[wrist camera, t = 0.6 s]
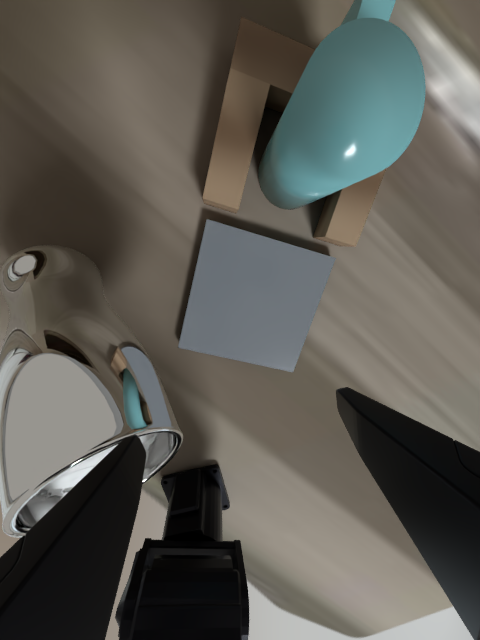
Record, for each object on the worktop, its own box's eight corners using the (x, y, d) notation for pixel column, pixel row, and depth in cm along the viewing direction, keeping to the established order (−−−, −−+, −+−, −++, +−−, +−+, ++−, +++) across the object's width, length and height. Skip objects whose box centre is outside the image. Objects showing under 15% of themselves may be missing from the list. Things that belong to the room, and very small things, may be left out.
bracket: (340, 246, 21) (355, 246, 19) (204, 203, 19) (202, 198, 17) (390, 113, 18) (415, 93, 16) (238, 49, 17) (241, 16, 14)
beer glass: (-46, 261, 14) (-83, 553, 6) (79, 223, 17) (167, 403, 9) (35, 331, 20) (69, 536, 12) (120, 295, 22) (198, 447, 14)
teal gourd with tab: (310, 217, 20) (390, 194, 11) (250, 198, 19) (280, 154, 10) (348, 101, 18) (493, -57, 9) (283, 74, 17) (361, -135, 8)
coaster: (290, 367, 24) (292, 372, 23) (179, 343, 23) (178, 347, 22) (330, 257, 21) (335, 258, 20) (207, 220, 20) (206, 219, 19)
